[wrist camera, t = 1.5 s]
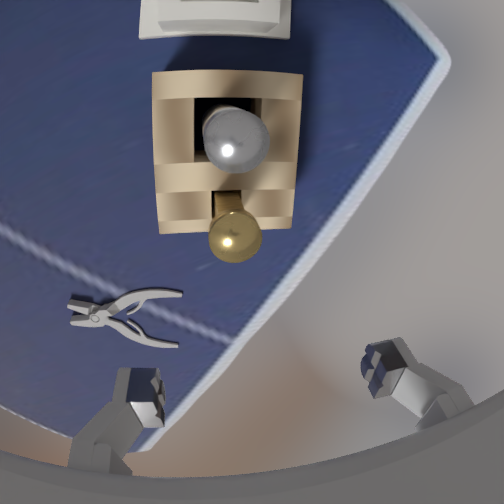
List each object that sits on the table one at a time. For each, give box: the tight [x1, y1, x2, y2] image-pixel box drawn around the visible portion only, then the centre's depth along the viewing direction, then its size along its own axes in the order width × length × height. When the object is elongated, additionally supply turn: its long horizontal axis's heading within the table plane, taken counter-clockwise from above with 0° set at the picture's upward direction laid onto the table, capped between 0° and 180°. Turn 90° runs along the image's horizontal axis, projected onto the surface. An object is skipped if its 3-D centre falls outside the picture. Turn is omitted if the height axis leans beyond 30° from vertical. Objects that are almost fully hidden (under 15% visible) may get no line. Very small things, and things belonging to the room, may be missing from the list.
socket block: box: [152, 70, 303, 234], centre depth 27 cm, size 12×14×6 cm
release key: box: [208, 190, 262, 263], centre depth 25 cm, size 4×4×8 cm
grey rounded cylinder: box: [202, 103, 270, 174], centre depth 23 cm, size 4×4×12 cm
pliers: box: [67, 289, 182, 348], centre depth 37 cm, size 10×2×15 cm
